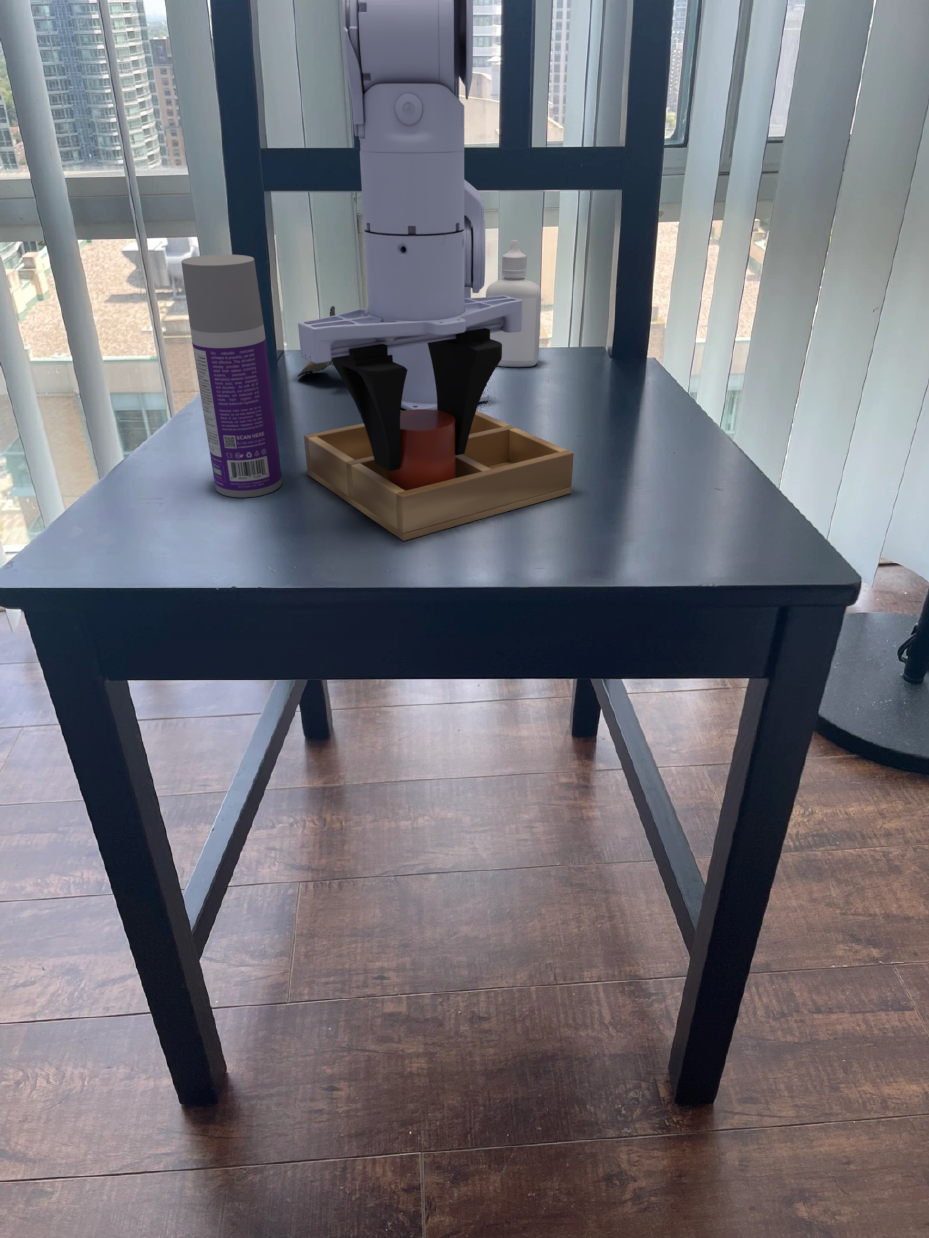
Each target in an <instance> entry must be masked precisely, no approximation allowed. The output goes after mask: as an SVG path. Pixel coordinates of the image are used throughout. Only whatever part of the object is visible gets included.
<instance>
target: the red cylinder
mask: <svg viewBox="0 0 929 1238" xmlns="http://www.w3.org/2000/svg"><path fill="white" fill-rule="evenodd" d="M400 436H401V462H400V469H398V470H394V471H388V477H389V481H390V482H392V483H393V484H395V485H397V486H398V487H400V488H401V489H404V490H411V489H415V488H419V487H423V486H427V485H431V484H435V483H439V482H443V481H447V480H451V479H454V478H455V418H454V417H453V416H452V415H451V414H449V413H446V412H443V411H438V410H430V409H414V410H406V409H405V410H401V413H400Z"/></svg>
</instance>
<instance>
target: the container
mask: <svg viewBox="0 0 929 1238" xmlns="http://www.w3.org/2000/svg"><path fill="white" fill-rule="evenodd" d="M180 263H181V271H182V277H183V282H184V283H183V284H184V291H185V299H186V300H185V301H186V305H187V306H186V308H187V313H188V314H187V315H188V322H189V329H190V338H191V344H192V350H193V357H194V364H195V369H196V376H197V382H198V388H199V395H200V401H201V407H202V413H203V418H204V426H205V431H206V432H205V433H206V437H207V444H208V450H209V456H210V464H211V469H212V474H213V475H212V476H213V481H214V487H215V490H216V492H218V493H219V494H221V495H222V496H226V497H231V498H255V497H260V496H265V495H268V494H271V493H273V492H275V491H276V490H279V488H280V487H281V486H282V485H283V479H282V478H283V477H282V468H281V460H280V451H279V443H278V434H277V425H276V415H275V407H274V398H273V389H272V382H271V373H270V365H269V356H268V347H267V339H266V333H265V326H264V317H263V310H262V304H261V298H260V297H261V296H260V290H259V282H258V276H257V269H256V262H255V258H254V257H253V256H250V255H243V254H207V255H196V256H191V257H187V258H184V259H182V260H181V261H180Z"/></svg>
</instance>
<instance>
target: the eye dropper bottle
mask: <svg viewBox="0 0 929 1238" xmlns="http://www.w3.org/2000/svg"><path fill="white" fill-rule="evenodd" d="M527 258H528V256H527V255H526V254H524V253H523V252H522V251H521V248H520V241H519V240H518V239H511V241H510V246H509V250H508V252H507V253H504V254H503V255H502V259H501V277H502V279H501V278H500V279H498V280H496V281H493V282H491V283H490V284H489V285H488V286H487V287H486V290H485V297H494V296H503V295H504V296H508V297H512V298H516V299H520V300H522V324H521V331H519V332H513V333H506V332H503V331H500V332H493V333H490V339H492V340H495V341H498V342H500V343H501V344H502V359H501V361H500V362H499V364H498V365H497V367H504V368H505V367H506V368H529V367H534V366H535V365H537V363H538V361H539V358H540V340H541V339H540V338H541V337H540V335H541V313H542V289H541V287H540V285H538V284H537V283H535V282H533V281H531V280H528V279H526V277H527V263H528V261H527V260H528V259H527Z"/></svg>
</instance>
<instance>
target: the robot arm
mask: <svg viewBox="0 0 929 1238" xmlns="http://www.w3.org/2000/svg"><path fill="white" fill-rule="evenodd" d="M340 7H341V8H340V19H341V20H340V21H341V23H340V24H341V42H342V51H343V60H344V68H345V74H346V78H347V82H348V86H349V92H350V98H351V109H352V123H353V132H354V136H355V137H358V140H359V147H360V150H359V162H360V164H359V165H360V181H361V182H360V184H361V196H362V197H361V199H362V202H361V203H362V220H363V238H364V239H363V240H364V259H365V274H366V275H365V277H366V292H367V293H366V294H367V306H366V307H363V308H359V309H355V310H351V311H347V312H343V313H339V314H336V315H334V316H330V315H329V316H326V317H321V318H316V319H312V320H305V321H299V322H298V323H297V329H298V335H299V336H298V339H299V349H300V350H299V351H300V357H301V358H303V359H305V360H308V361H309V362H310V361H312V362H314V363H316V364H317V363H324V362H329V361H331V360H332V362H333V366H334V368H335V370H336V371H337V373H338V375H339V376H340V378H341V379H342V381H343V383H344V385H345V386H346V388H347V390H348V392H349V394H350V396H351V398H352V400H353V402H354V404H355V406H356V408H357V410H358V413H359V415H360V418H361V420H362V424H363V423H364V426H365V429H366V432H367V435H368V438H369V441H370V444H371V448H372V452H373V456H374V460H375V463H377V464H378V465H380V466H382V467H383V468H385V469H387V470H388V471H394V470H398V469H400V462H401V436H400V413H401V411H402V409H404V410H405V411H406V410H414V409H430V410H432V409H437V410H438V411H443V412H446V413H449V414H451V415H452V416H453V417H454V418H455V455H461V454H464V453H465V450H466V446H467V442H468V438H469V434H470V430H471V426H472V422H473V419H474V416H475V413H476V410H477V409H478V407H479V404H480V403H481V402H486V401H489V394H487V393H485V392H484V391H485V389H486V387H487V385H488V382H489V381H490V379H491V377H492V376H493V373H494V372H495V370H496V369H497V367H498V366H497V365H498V364H499V362H500V361H501V359H502V344H501V343H500V342H498V341H495V340H492V339H490V333H493V332H500V331H503V332H506V333H513V332H519V331H521V324H522V300H520V299H516V298H512V297H508V296H504V295H503V296H494V297H486V296H483V297H472V294H479V293H480V291H481V290H482V289H483V288H484V287H485V284H486V282H485V281H486V220H485V203H484V200H483V198H481V193H480V191H479V190H477V188H475V187H474V186H473V185H472V184H471V183H470V182H469V181H467V180H466V179H465V104H464V103H463V102H462V101H461V100H460V99H459V98H458V97H457V96H456V95H455V81H457V80H458V79H460V81H461V82H462V84H463V85H464V92H465V93H464V94H465V95H464V97H465V100H466V101H468V99H469V96H470V91H471V86H472V82H473V70H474V69H473V66H474V0H341V2H340Z"/></svg>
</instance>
